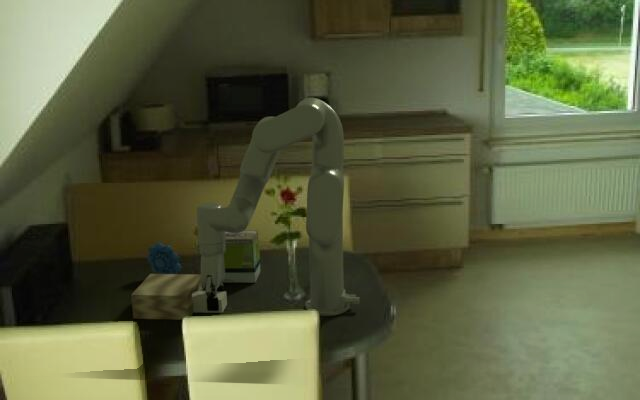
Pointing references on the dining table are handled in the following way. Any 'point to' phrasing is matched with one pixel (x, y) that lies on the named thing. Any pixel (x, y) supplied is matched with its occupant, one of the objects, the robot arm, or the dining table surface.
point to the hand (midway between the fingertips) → (216, 305)
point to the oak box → (165, 296)
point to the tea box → (242, 256)
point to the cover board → (201, 301)
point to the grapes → (163, 259)
